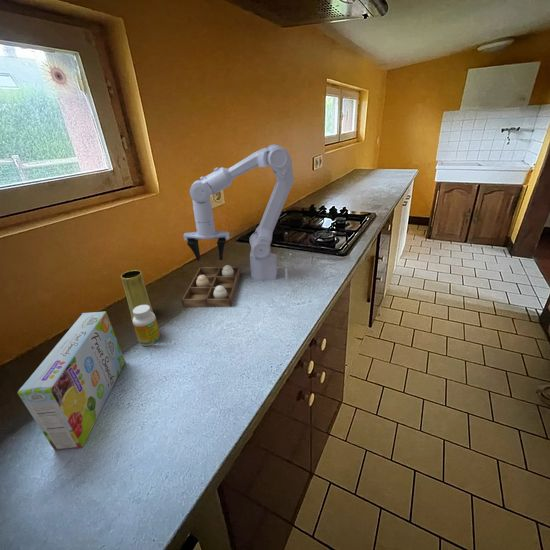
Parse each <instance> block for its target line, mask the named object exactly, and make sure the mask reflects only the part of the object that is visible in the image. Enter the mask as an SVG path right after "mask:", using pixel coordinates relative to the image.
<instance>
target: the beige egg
mask: <svg viewBox="0 0 550 550" xmlns="http://www.w3.org/2000/svg"><path fill="white" fill-rule="evenodd" d="M196 285H197V286H198V287H208V285H209V280H208V278H207V277H206V276H205V275H200V276H198V278H197V281H196Z"/></svg>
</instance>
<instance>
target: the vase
mask: <svg viewBox="0 0 550 550" xmlns="http://www.w3.org/2000/svg"><path fill="white" fill-rule="evenodd" d="M120 279H121V282H122V286H123V291H124V292H125V296H126V301H127V304H128V309H129V312H130V316H131V317H130V318H131V321H132V322H133V318H134V314H133V309H134V308H135V307H137V306H140V305H148V306H150V310H151V312H153V313H154V310H153V308H152V304H151V301H150V299H149V295H148V291H147V287H146V283H145V280H144V276H143V273H142V271H141V270H140V269H132V270H131V269H130V270H128V271H124V272H123V273H122V274H121V275H120Z"/></svg>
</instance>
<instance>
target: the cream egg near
mask: <svg viewBox="0 0 550 550" xmlns="http://www.w3.org/2000/svg"><path fill="white" fill-rule="evenodd" d="M213 295H214V297H215V299H225V298H226V296H227V291H226V289H225V288H224V287H223V286H221V285H218V286H217V287H216V288H215V290H214V292H213Z"/></svg>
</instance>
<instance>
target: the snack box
mask: <svg viewBox="0 0 550 550" xmlns="http://www.w3.org/2000/svg"><path fill="white" fill-rule="evenodd" d="M125 363H126V360H125V358H124V355H123V352H122V350H121V348H120V345H119V343H118V339H117V337H116V334H115V332H114V328H113V326H112V323H111V321H110V318H109V314H108V313H107V311H106V310H105V311H95V312H94V311H93V312H82V313H81V315H80V316H79V317H78V318H77V320H76V321H74V323H73V325H72V326H71V327H70V328H69V330H68V331H67V332H66V333H65V334H64V335H63V336H62V338H60V340H59V341H58V342H57V343H56V345H55V346H54V347H53V349H52V350H51V351H50V352H49V353H48V355H47V356H46V357H45V358H44V359H43V360H42V362H41V363H40V364H39V366H38V367H37V368H36V369H35V370H34V372H33V373H31V375H30V376H29V378H28V379H27V380H26V381H25V382H24V383H23V384H22V386H21V387H20V388H19V389H18V391H17V395H18V396H19V398H20V400H21V401H22V402H23V404H24V405H25V408H27V411H28V412H29V413H30V415H31V416H32V418H33V419H34V421H35V422H36V424H37V426H38V427H39V429H40V431H41V432H42V433H43V435H44V437H45V438H46V439H47V442H48V444H50V446H51V447H52V449H53V450H54V451H58V450H67V449H79V448H83V447H85V445H86V442H87V440H88V437H89V435H90V433H91V431H92V429H93V428H94V425H95V424H96V421H97V420H98V418H99V416H100V413H101V412H102V409H103V408H104V405H105V404H106V402H107V400H108V397H109V395H110V393H111V392H112V389H113V387H114V385H116V381H117V380H118V377H119V375H120V374H121V372H122V369H123V368H124V366H125Z"/></svg>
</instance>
